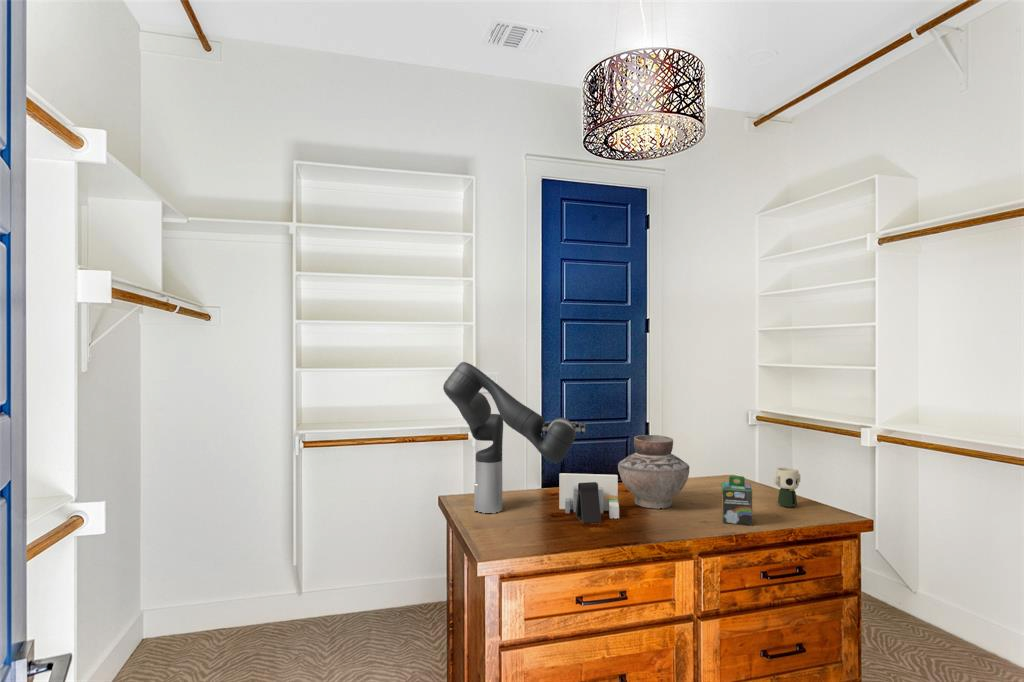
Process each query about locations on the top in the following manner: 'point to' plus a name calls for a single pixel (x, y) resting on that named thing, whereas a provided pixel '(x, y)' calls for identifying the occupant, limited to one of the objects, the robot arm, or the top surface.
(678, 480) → the ceramic pot
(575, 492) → the block and dowel assembly
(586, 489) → the phone stand
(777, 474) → the character mug
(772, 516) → the top surface
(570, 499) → the panel and block assembly
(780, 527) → the top surface
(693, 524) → the top surface
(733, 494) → the chalk box
